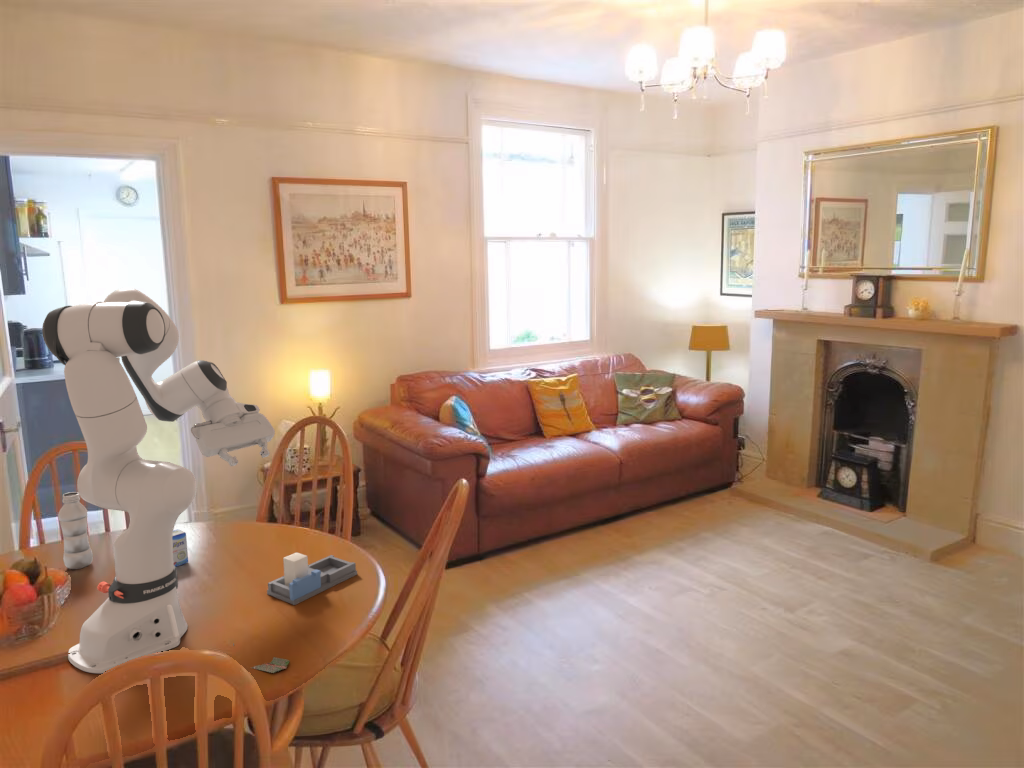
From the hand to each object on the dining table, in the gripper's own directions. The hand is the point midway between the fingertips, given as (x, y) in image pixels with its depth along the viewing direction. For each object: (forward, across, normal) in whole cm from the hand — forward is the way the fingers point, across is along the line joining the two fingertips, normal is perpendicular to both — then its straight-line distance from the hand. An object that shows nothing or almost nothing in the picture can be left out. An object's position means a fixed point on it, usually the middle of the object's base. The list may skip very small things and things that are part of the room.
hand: (251, 460), depth 181 cm
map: (+45, -28, -3) cm, 53 cm away
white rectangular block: (+34, -3, +6) cm, 35 cm away
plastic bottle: (-7, -26, +49) cm, 56 cm away
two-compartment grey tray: (+34, +2, +7) cm, 35 cm away
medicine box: (+6, -12, +36) cm, 38 cm away
